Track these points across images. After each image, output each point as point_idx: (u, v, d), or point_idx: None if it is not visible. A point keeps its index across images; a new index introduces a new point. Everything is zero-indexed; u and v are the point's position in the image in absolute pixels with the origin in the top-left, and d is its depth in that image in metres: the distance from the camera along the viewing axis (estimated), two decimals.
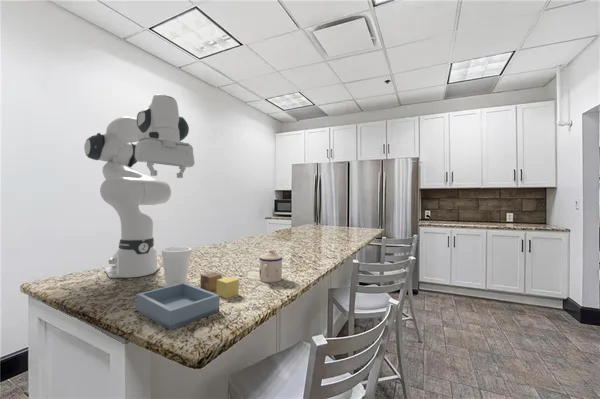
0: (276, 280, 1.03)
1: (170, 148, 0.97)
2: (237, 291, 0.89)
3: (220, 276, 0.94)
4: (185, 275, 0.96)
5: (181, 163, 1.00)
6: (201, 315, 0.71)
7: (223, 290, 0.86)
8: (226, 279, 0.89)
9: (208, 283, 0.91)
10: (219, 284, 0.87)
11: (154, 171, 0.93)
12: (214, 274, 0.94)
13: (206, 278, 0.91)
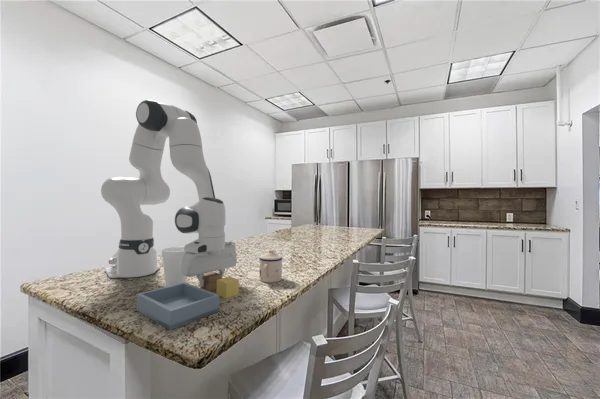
0: (276, 280, 1.03)
1: (215, 255, 0.94)
2: (237, 291, 0.89)
3: (220, 276, 0.94)
4: None
5: (225, 267, 0.97)
6: (201, 315, 0.71)
7: (223, 290, 0.86)
8: (226, 279, 0.89)
9: (208, 283, 0.91)
10: (219, 284, 0.87)
11: (203, 282, 0.91)
12: (214, 274, 0.94)
13: (206, 278, 0.91)
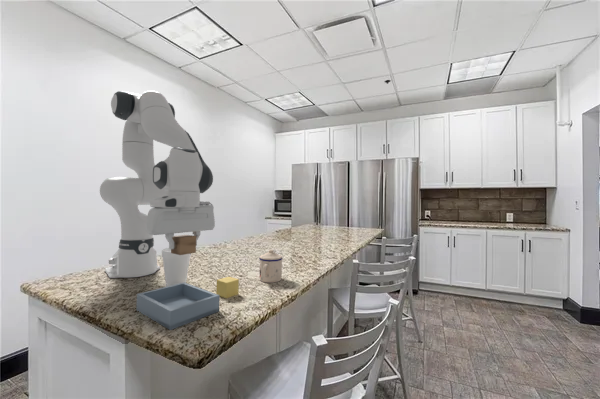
0: (276, 280, 1.03)
1: (188, 213, 0.81)
2: (237, 291, 0.89)
3: (194, 238, 0.81)
4: (185, 275, 0.96)
5: (200, 229, 0.84)
6: (201, 315, 0.71)
7: (223, 290, 0.86)
8: (226, 279, 0.89)
9: (179, 244, 0.78)
10: (219, 284, 0.87)
11: (174, 244, 0.78)
12: (187, 236, 0.81)
13: (177, 239, 0.78)
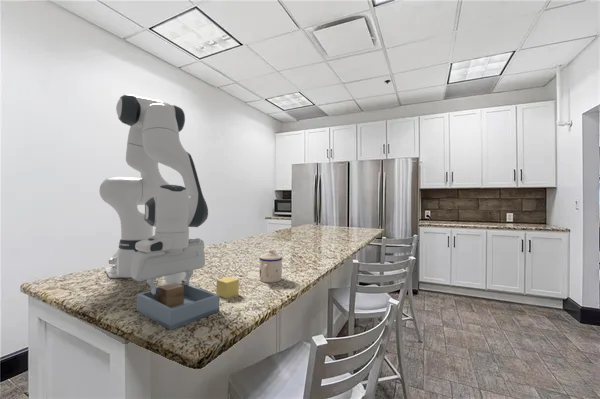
0: (276, 280, 1.03)
1: (176, 254, 0.77)
2: (237, 291, 0.89)
3: (182, 288, 0.78)
4: (185, 275, 0.96)
5: (189, 269, 0.80)
6: (201, 315, 0.71)
7: (223, 290, 0.86)
8: (226, 279, 0.89)
9: (166, 297, 0.74)
10: (219, 284, 0.87)
11: (156, 289, 0.73)
12: (175, 286, 0.78)
13: (164, 291, 0.75)
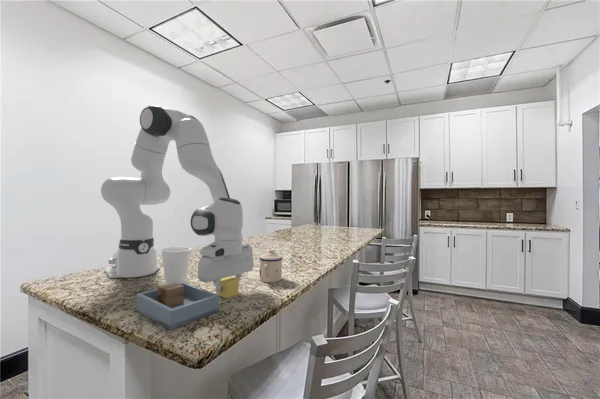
0: (276, 280, 1.03)
1: (232, 259, 0.88)
2: (237, 291, 0.89)
3: (182, 288, 0.78)
4: (185, 275, 0.96)
5: (242, 271, 0.91)
6: (201, 315, 0.71)
7: (223, 289, 0.86)
8: (226, 278, 0.89)
9: (166, 297, 0.74)
10: None
11: (220, 288, 0.86)
12: (175, 286, 0.78)
13: (164, 291, 0.75)
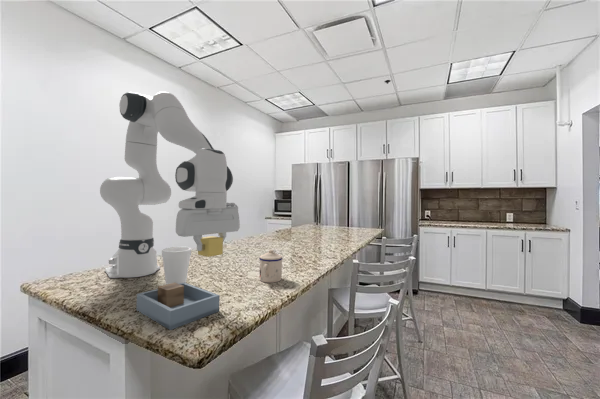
0: (276, 280, 1.03)
1: (216, 215, 0.80)
2: (221, 250, 0.81)
3: (182, 288, 0.78)
4: (185, 275, 0.96)
5: (226, 230, 0.83)
6: (201, 315, 0.71)
7: (205, 248, 0.78)
8: (209, 237, 0.81)
9: (166, 297, 0.74)
10: None
11: (202, 246, 0.77)
12: (175, 286, 0.78)
13: (164, 291, 0.75)
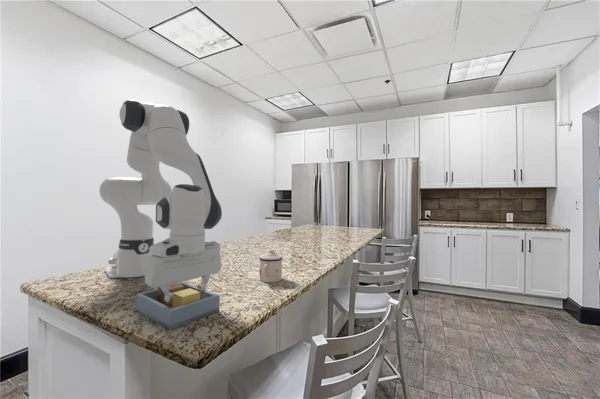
0: (276, 280, 1.03)
1: (192, 258, 0.72)
2: None
3: (182, 288, 0.78)
4: None
5: (205, 274, 0.75)
6: (201, 315, 0.71)
7: (179, 305, 0.70)
8: (185, 291, 0.73)
9: None
10: (175, 298, 0.71)
11: (170, 296, 0.68)
12: (175, 286, 0.78)
13: None
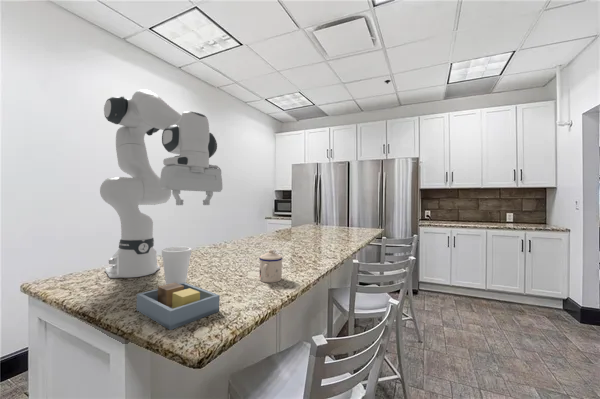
0: (276, 280, 1.03)
1: (198, 173, 0.87)
2: None
3: (182, 288, 0.78)
4: (185, 275, 0.96)
5: (209, 189, 0.90)
6: (201, 315, 0.71)
7: (179, 305, 0.70)
8: (185, 291, 0.73)
9: (166, 297, 0.74)
10: (175, 298, 0.71)
11: (180, 200, 0.83)
12: (175, 286, 0.78)
13: (164, 291, 0.75)
